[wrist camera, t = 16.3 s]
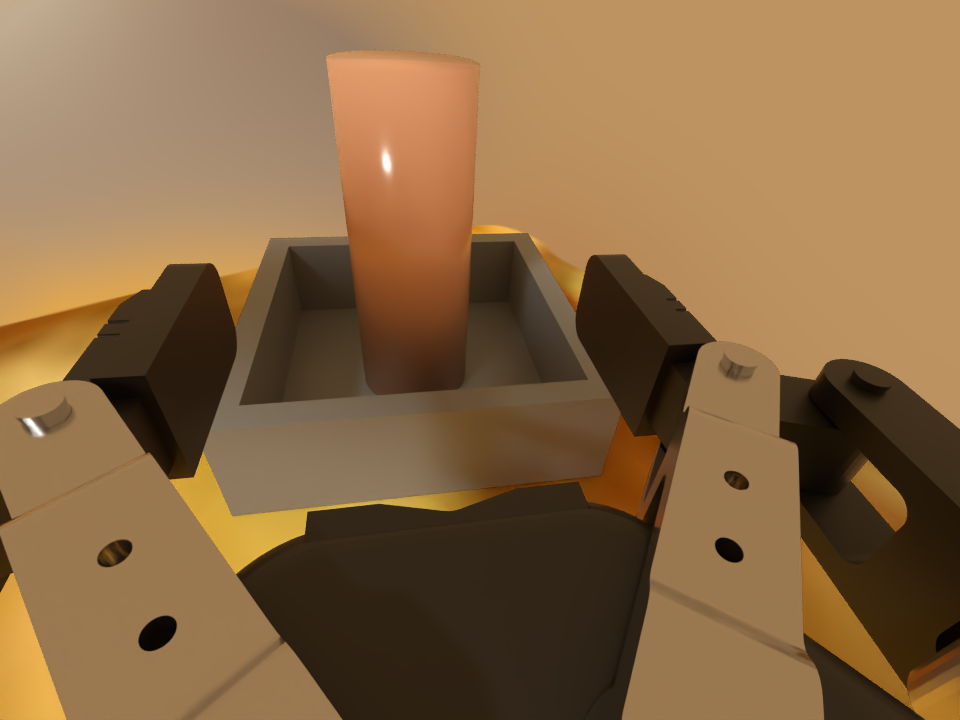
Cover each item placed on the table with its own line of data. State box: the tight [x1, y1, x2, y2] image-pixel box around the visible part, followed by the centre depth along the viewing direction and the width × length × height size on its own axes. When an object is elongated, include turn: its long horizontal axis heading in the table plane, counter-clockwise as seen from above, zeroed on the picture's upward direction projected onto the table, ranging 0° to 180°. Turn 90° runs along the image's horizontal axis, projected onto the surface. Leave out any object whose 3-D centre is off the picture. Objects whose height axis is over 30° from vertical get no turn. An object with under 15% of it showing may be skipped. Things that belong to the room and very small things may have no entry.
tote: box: [203, 233, 621, 516], centre depth 26 cm, size 16×16×5 cm
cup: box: [326, 50, 480, 395], centre depth 23 cm, size 6×6×15 cm
